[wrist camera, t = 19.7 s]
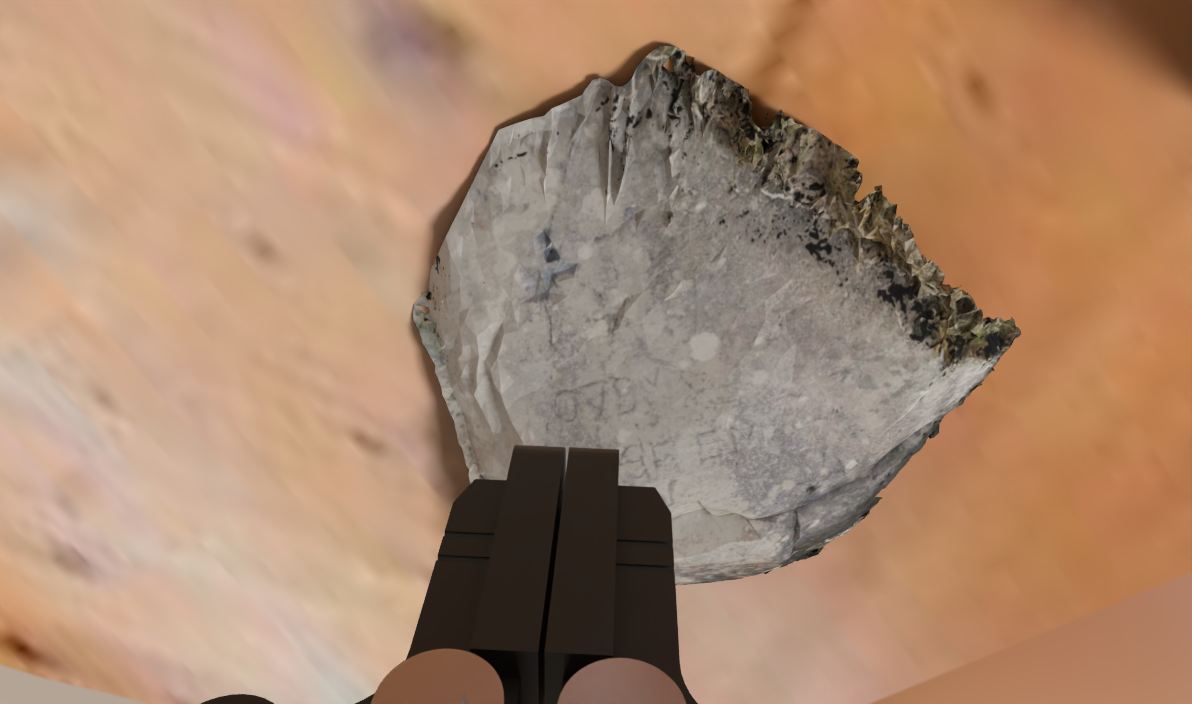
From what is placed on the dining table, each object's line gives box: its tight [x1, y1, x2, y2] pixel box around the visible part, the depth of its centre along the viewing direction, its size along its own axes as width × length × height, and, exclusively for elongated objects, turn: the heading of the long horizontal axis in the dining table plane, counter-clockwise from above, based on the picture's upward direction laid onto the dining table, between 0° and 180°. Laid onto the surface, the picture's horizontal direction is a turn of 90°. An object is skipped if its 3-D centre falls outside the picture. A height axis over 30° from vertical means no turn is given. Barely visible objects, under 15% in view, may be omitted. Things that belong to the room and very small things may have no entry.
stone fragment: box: [413, 46, 1021, 585], centre depth 39 cm, size 25×29×6 cm
